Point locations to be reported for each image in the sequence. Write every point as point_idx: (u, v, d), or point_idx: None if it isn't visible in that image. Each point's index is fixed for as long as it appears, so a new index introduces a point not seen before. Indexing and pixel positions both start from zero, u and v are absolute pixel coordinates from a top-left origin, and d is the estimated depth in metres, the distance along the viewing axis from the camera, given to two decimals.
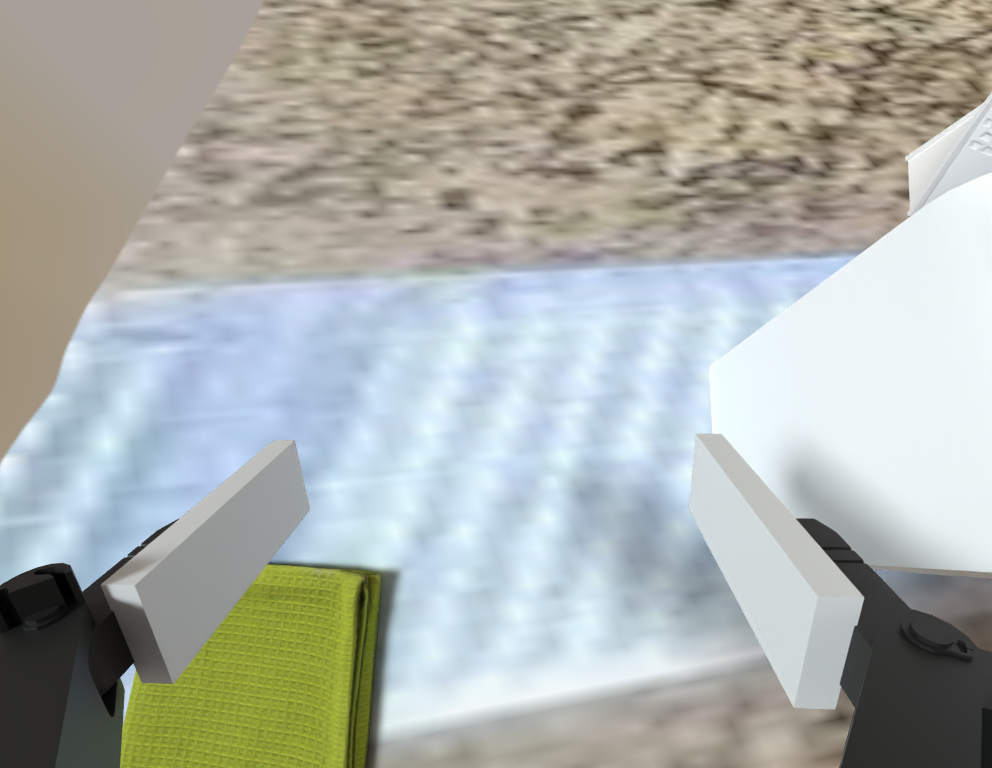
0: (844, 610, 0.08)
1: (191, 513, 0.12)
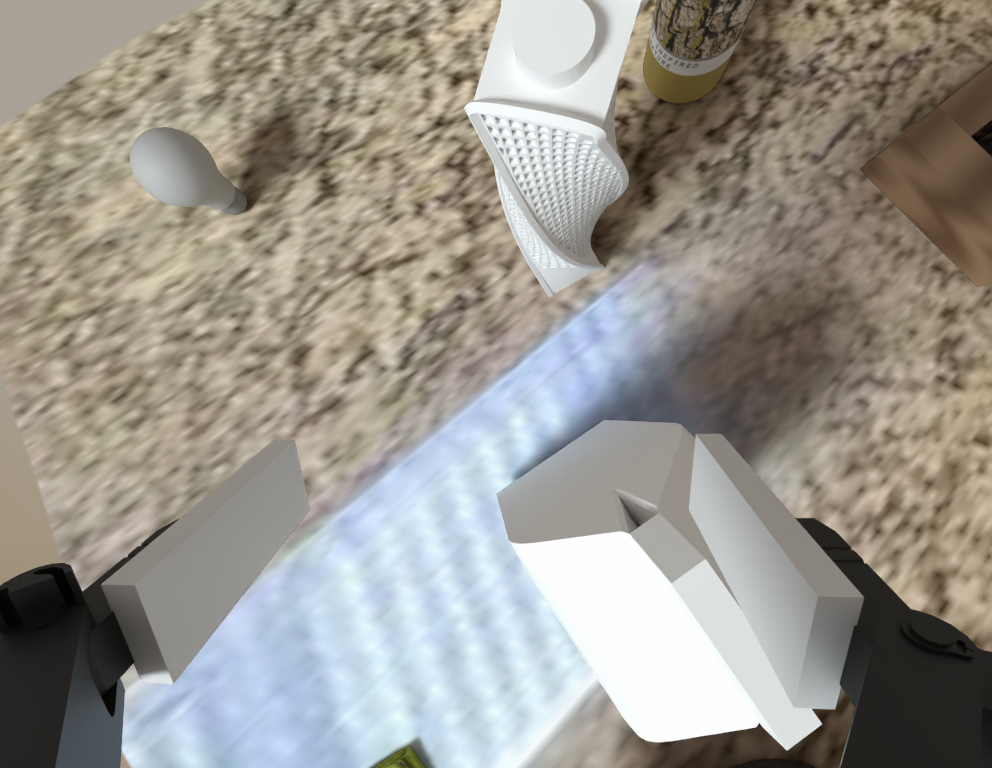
0: (844, 610, 0.08)
1: (191, 512, 0.12)
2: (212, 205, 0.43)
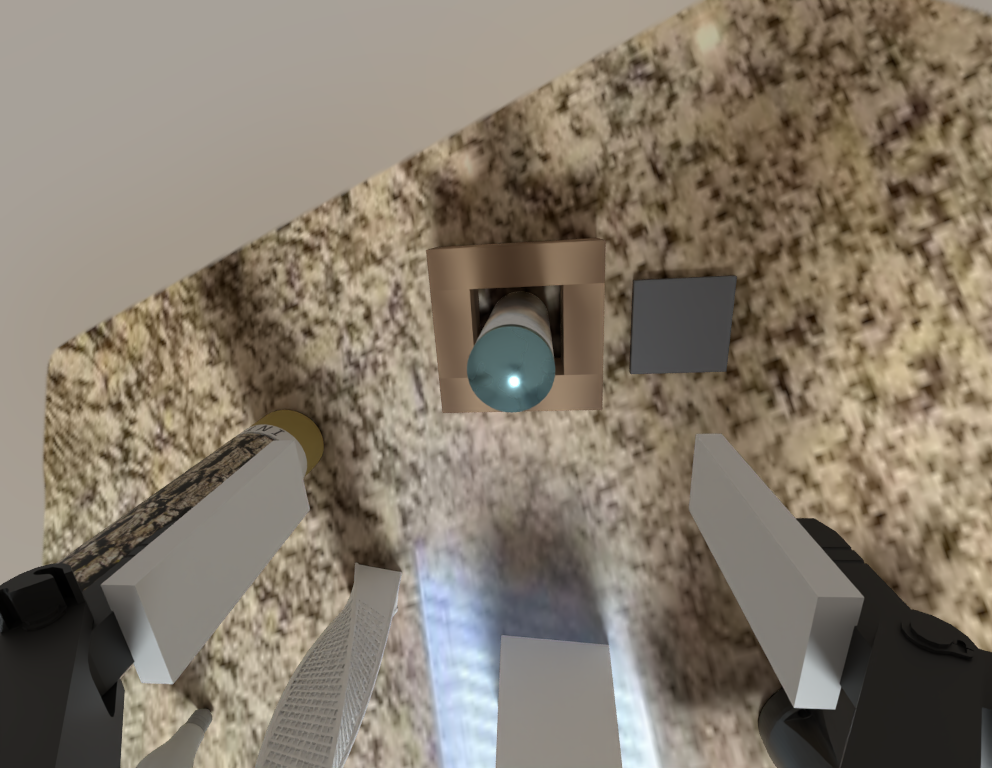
0: (844, 610, 0.08)
1: (191, 512, 0.12)
2: None
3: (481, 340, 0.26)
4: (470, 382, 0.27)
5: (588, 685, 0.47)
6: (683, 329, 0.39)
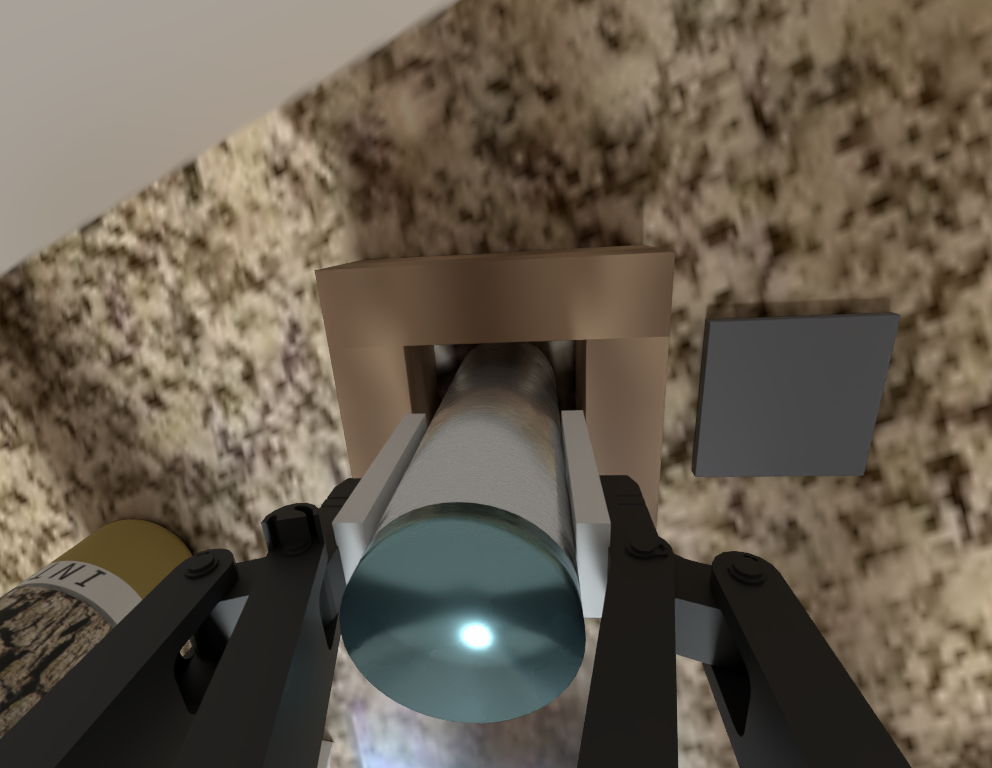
0: (598, 533, 0.10)
1: (372, 469, 0.13)
2: None
3: (373, 561, 0.09)
4: (352, 655, 0.10)
5: None
6: (793, 405, 0.22)
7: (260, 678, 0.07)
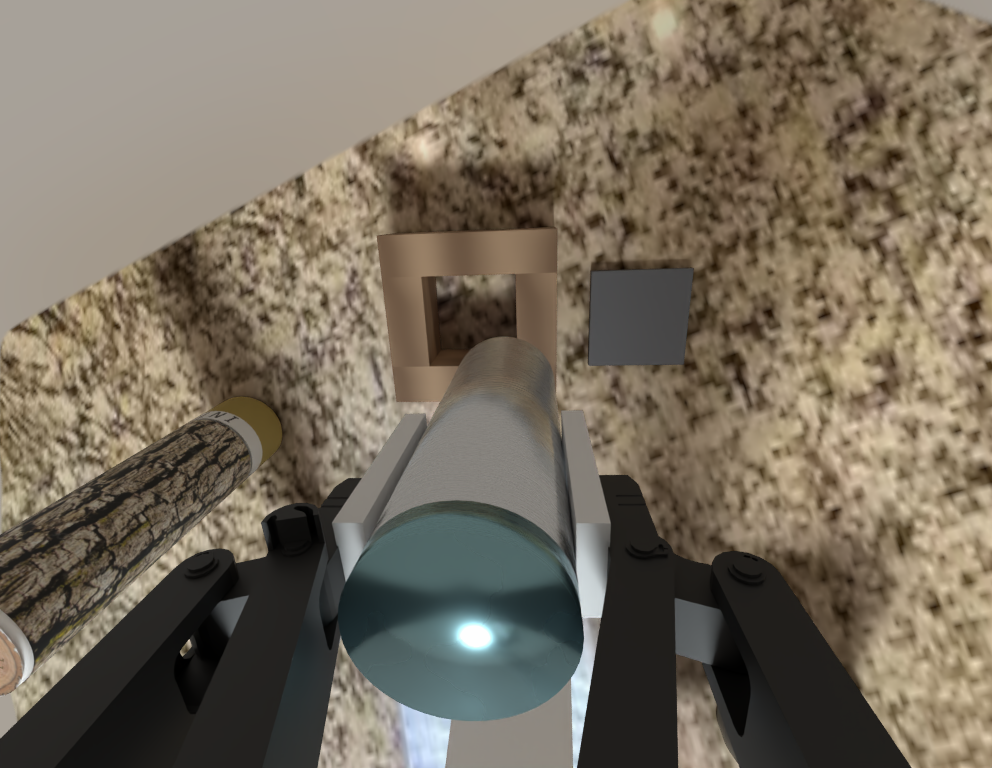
0: (598, 533, 0.10)
1: (371, 470, 0.13)
2: None
3: (371, 559, 0.09)
4: (351, 653, 0.10)
5: None
6: (640, 321, 0.39)
7: (260, 678, 0.07)
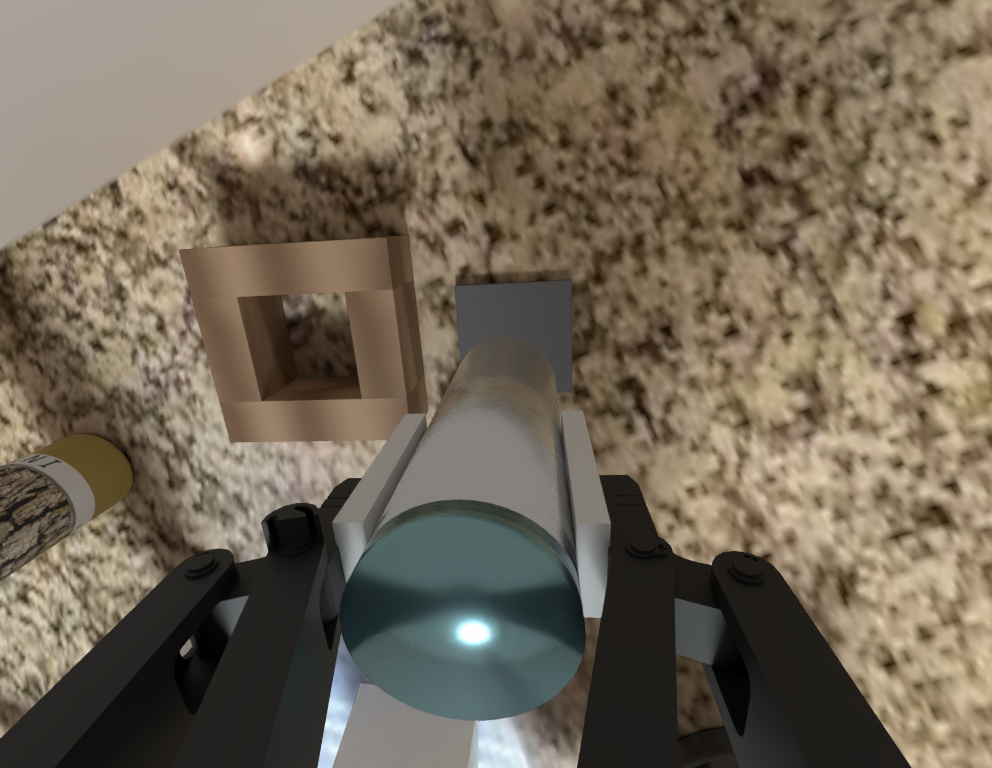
0: (597, 533, 0.10)
1: (372, 469, 0.13)
2: None
3: (373, 558, 0.09)
4: (352, 653, 0.10)
5: (442, 746, 0.41)
6: None
7: (260, 678, 0.07)
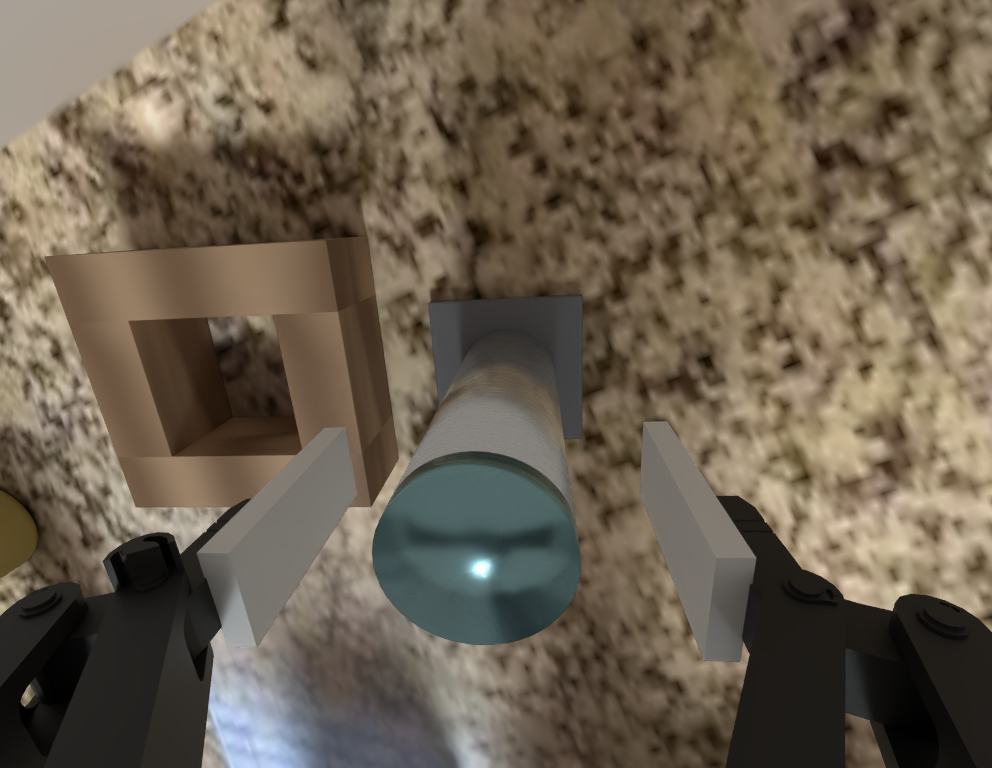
0: (739, 569, 0.09)
1: (263, 491, 0.12)
2: None
3: (402, 497, 0.11)
4: (382, 584, 0.11)
5: None
6: None
7: (120, 717, 0.07)
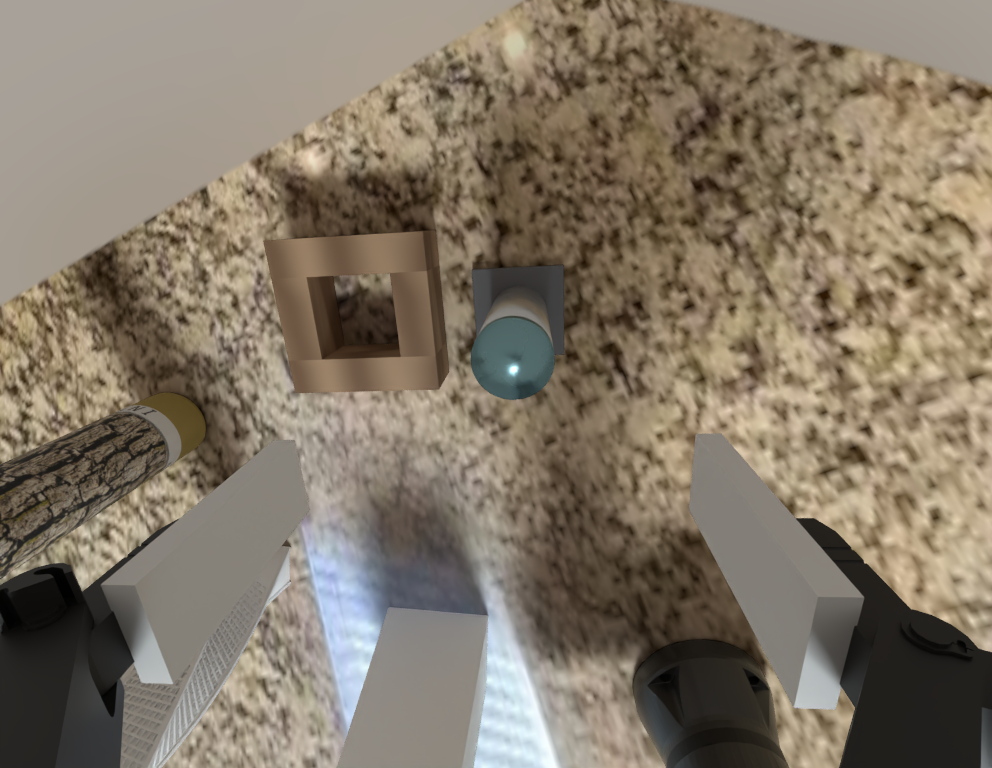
0: (843, 610, 0.08)
1: (191, 513, 0.12)
2: None
3: (484, 331, 0.27)
4: (474, 371, 0.28)
5: (459, 650, 0.50)
6: None
7: (19, 760, 0.06)
